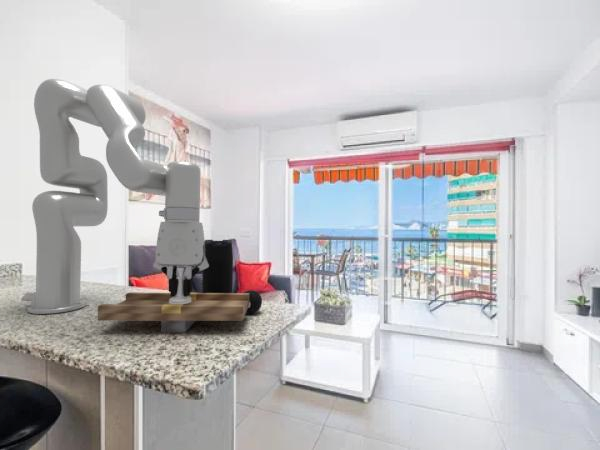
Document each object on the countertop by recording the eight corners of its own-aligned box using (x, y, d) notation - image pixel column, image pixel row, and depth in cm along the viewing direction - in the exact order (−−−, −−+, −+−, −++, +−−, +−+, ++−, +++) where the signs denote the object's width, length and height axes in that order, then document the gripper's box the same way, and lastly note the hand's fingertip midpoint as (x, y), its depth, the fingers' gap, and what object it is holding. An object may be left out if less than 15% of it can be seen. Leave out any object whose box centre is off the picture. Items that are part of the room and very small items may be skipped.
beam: (97, 334, 64) (97, 306, 64) (128, 316, 77) (128, 292, 77) (242, 334, 66) (242, 306, 66) (248, 316, 79) (249, 293, 79)
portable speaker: (231, 302, 93) (232, 239, 93) (232, 310, 85) (234, 241, 85) (202, 303, 91) (203, 239, 91) (200, 312, 82) (202, 240, 82)
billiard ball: (264, 310, 85) (264, 289, 85) (257, 317, 79) (258, 293, 79) (243, 309, 86) (244, 287, 86) (235, 315, 80) (235, 292, 80)
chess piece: (195, 299, 74) (196, 258, 74) (185, 305, 69) (186, 260, 69) (175, 298, 74) (176, 257, 74) (164, 303, 69) (165, 259, 69)
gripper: (139, 214, 67) (137, 298, 67) (213, 216, 68) (211, 299, 68) (154, 215, 75) (152, 291, 75) (220, 217, 76) (218, 292, 76)
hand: (180, 294), depth 72 cm, fingers closed on chess piece
